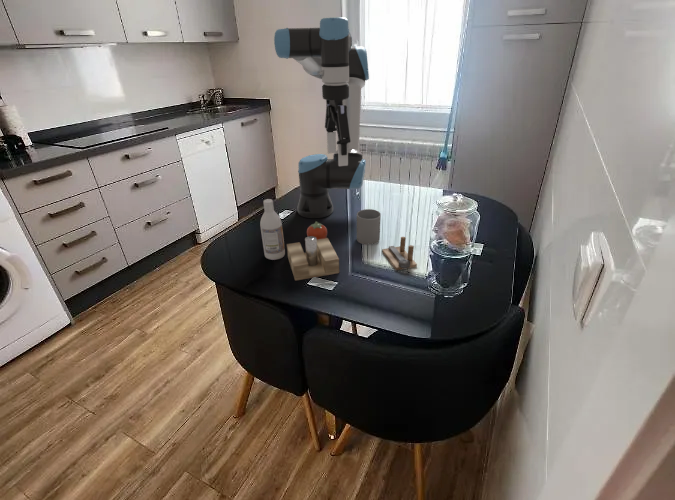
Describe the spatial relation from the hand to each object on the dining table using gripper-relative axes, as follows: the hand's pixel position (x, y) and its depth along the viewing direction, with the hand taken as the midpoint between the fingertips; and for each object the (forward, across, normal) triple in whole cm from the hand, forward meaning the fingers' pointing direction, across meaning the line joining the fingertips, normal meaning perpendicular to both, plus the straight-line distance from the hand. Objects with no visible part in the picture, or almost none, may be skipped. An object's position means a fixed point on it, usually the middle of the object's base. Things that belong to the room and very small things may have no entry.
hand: (337, 159), depth 111 cm
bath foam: (+31, -1, -23) cm, 39 cm away
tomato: (+31, -6, -7) cm, 33 cm away
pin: (+30, +9, -12) cm, 34 cm away
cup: (+32, -2, +11) cm, 34 cm away
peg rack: (+31, +14, +17) cm, 38 cm away
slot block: (+31, +9, -12) cm, 34 cm away
